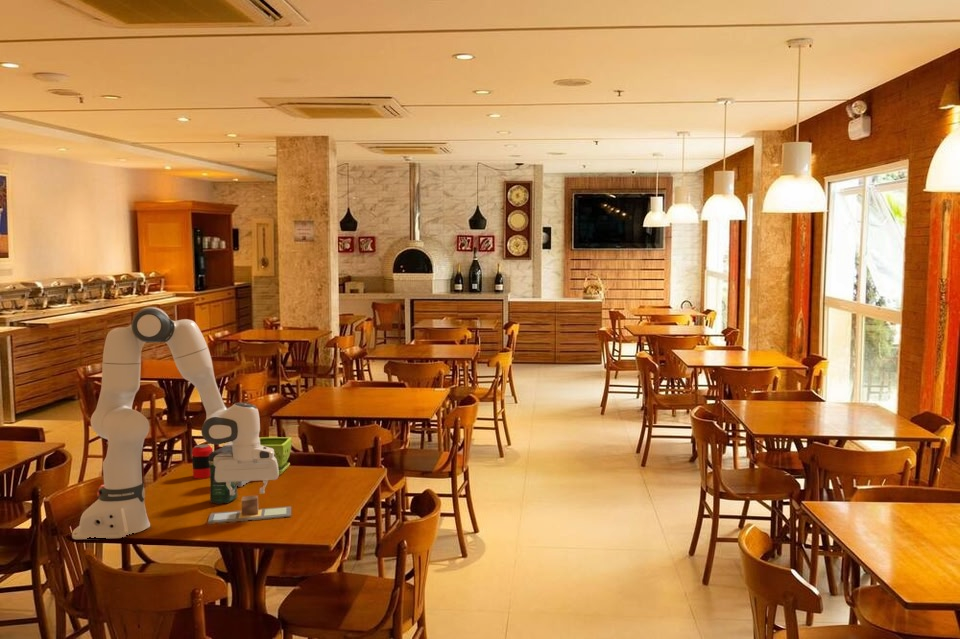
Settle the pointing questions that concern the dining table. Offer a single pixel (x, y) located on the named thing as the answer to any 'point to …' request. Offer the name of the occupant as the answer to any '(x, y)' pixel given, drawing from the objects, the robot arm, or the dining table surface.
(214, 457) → the robot arm
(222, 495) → the coffee jar
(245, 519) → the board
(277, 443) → the flower pot
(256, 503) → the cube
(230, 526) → the dining table surface
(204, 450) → the soda can
